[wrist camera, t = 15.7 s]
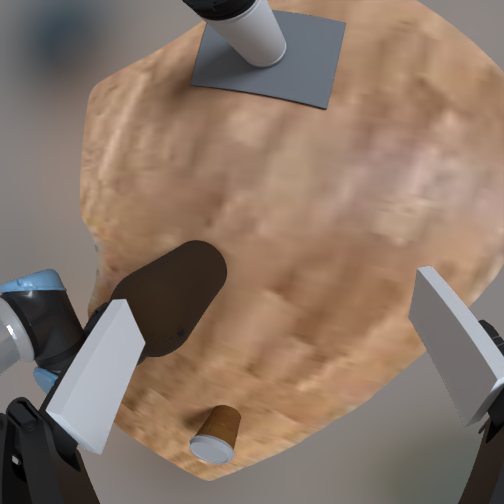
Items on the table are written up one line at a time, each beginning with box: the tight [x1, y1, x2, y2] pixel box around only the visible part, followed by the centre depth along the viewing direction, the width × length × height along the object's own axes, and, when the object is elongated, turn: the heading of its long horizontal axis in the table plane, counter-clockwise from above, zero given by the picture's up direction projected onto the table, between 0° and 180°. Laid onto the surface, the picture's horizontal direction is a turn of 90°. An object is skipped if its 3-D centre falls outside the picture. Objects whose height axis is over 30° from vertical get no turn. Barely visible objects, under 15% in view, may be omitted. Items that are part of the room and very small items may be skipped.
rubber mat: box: [190, 10, 346, 109], centre depth 33 cm, size 20×14×1 cm
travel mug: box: [182, 0, 287, 68], centre depth 24 cm, size 6×7×20 cm
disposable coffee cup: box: [190, 405, 241, 464], centre depth 53 cm, size 10×10×12 cm
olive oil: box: [109, 240, 227, 357], centre depth 35 cm, size 11×11×25 cm
